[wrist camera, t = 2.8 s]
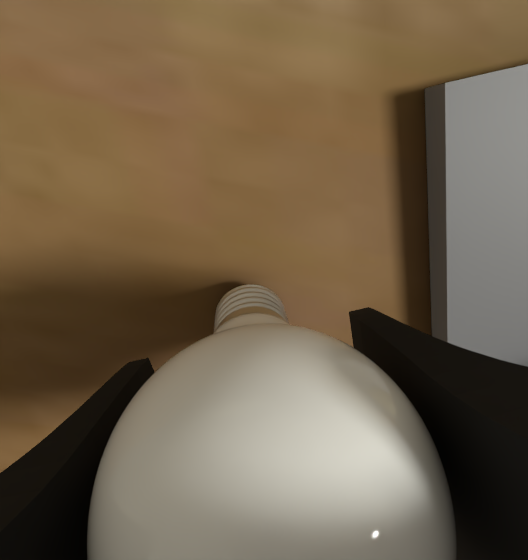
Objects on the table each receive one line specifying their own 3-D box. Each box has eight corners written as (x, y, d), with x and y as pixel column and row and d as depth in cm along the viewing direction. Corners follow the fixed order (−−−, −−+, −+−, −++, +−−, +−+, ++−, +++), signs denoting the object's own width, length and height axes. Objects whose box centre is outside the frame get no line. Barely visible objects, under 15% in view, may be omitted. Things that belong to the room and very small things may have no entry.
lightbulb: (165, 369, 15) (22, 884, 5) (171, 222, 12) (-92, 588, 2) (311, 377, 16) (465, 826, 5) (341, 240, 13) (706, 567, 3)
